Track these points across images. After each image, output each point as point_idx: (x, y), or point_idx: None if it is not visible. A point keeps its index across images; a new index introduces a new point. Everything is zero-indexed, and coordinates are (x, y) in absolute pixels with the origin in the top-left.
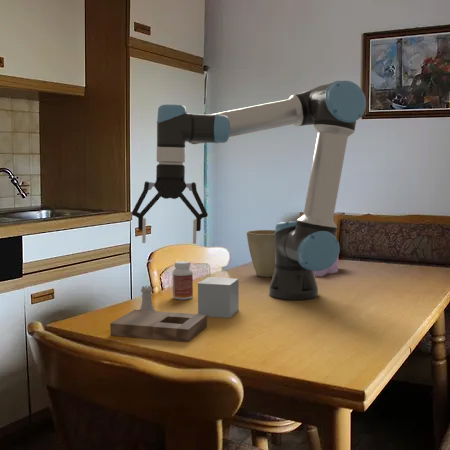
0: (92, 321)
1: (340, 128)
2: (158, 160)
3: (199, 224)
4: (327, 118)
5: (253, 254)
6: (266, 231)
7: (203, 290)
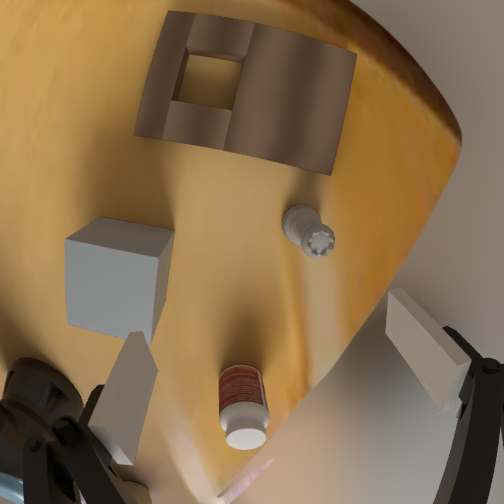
0: (404, 170)
1: None
2: None
3: (89, 411)
4: None
5: None
6: None
7: (146, 247)
